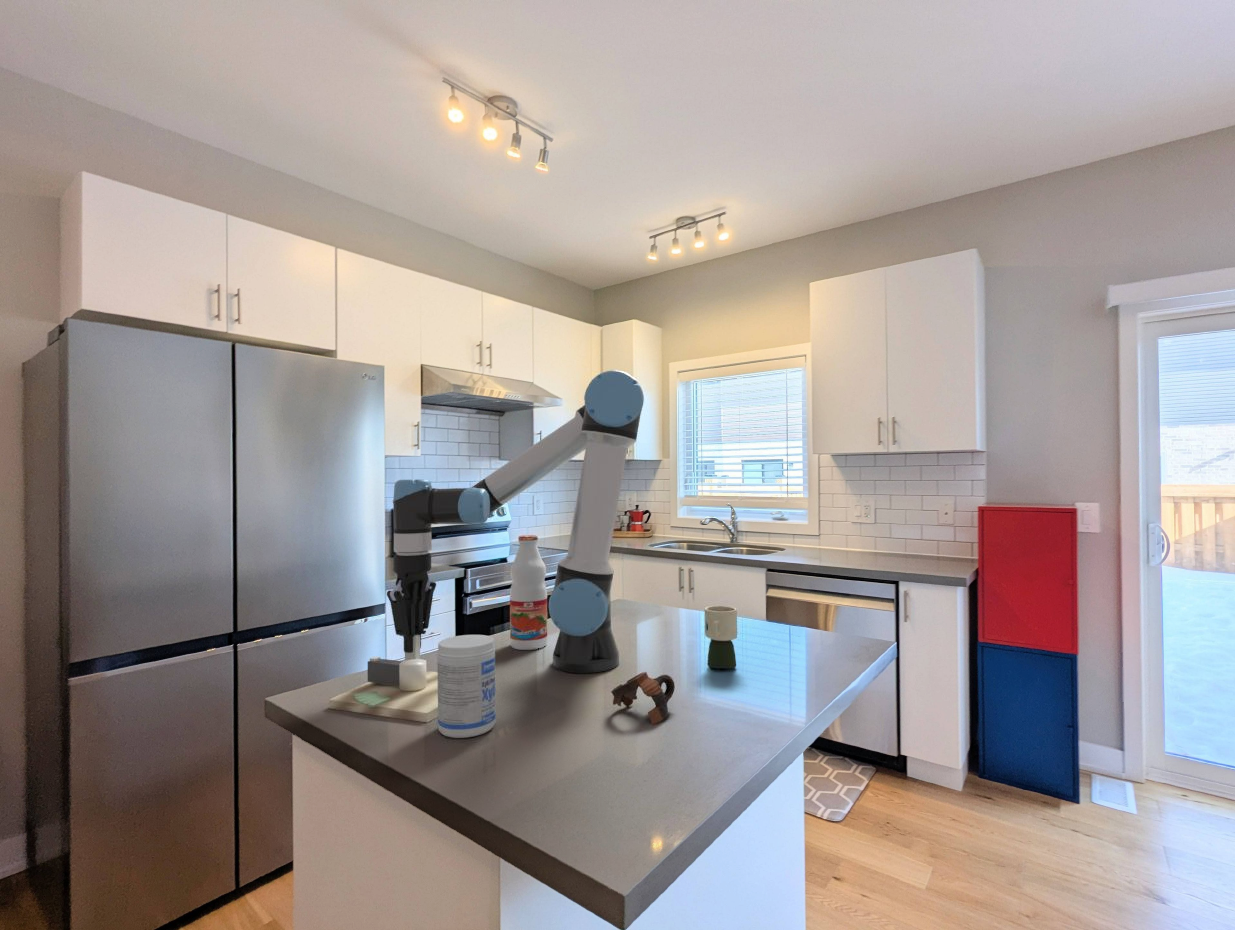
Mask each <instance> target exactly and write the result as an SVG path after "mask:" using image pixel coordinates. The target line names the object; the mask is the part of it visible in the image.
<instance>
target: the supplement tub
mask: <svg viewBox="0 0 1235 930" xmlns="http://www.w3.org/2000/svg"><path fill="white" fill-rule="evenodd" d="M495 648H496V646H495V639H494V638H493V637H492V636H490V635H486V634H485V635H484V634H463V635H456V636H451V637H447V638H444V639H441V640H440V641H439V642H438V646H437V651H436V652H437V653H436V654H437V655H436V657H437V661H436V662H437V663H436V664H437V672H438V717H437V729H438V730H439V733H441V734H442V735H444V736H445V737H447V738H448V737H449V738H452V739H454V738H455V739H465V738H467V739H468V738H472V737H473V738H474V737H477V736H480V735H483V734H486V733H487V732H489V731H490V730H492V729H493V727H494V726H495V725H496V720H497V719H496V717H497V715H496V714H497V713H496V711H497V710H496V707H497V706H496V649H495Z"/></svg>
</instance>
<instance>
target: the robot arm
mask: <svg viewBox="0 0 1235 930" xmlns="http://www.w3.org/2000/svg"><path fill="white" fill-rule="evenodd" d="M583 398H584V405H582V406H581V407H579V408H578V409H577V410H576V411H575V415H574V416H573V418H572V419H570V420H568V421H566V423H564V424H563V425H561V426H560V427H558V428H557V429H555V430H554V431H552V432H551V433H550V434H547V435H546V436H545V437H543V438H542V439H540V440H539V441H538V442H536V443H535V444H533V445H531V446H529V447H528V448H527V449H525V451H523V452H521V453H520V454H518V455H517V456H516V457H514V458H513V459H511V460H510V461H508V462H507V463H505V464H504V465H502V466H501V467H499V468H497V469H496V470H495V471H493V472H492V473H490V474H489V475H487V476H486V477H485V478H483V479H482V480H480V481H479V482H477V483H475V484H474V485H473V486H471V487H457V488H456V487H455V488H453V487H452V488H434V487H433V485H432V481H431V480H430V479H424V478H423V479H422V478H421V479H419V478H418V479H398V480H397V481H396V482H395V483H394V487H393V489H394V490H393V500H392V504H393V507H392V508H393V552H394V553H396V554H394V556H393V558H392V559H393V572H394V573H395V574H396V576H397V577H396V579H395V587H394V588H393V589H391V590H387V591H386V597H387V598H388V600H389V603H390V608H391V613H392V618H393V619H392V621H393V624H394V630H395V635H397V636H400V637H403V653H404V661H406V660H412V659H421V649H422V635H425V634H426V633H427V629H428V628H429V625H430V618H431V613H432V612H431V611H432V605H433V596H434V592H435V589H436V587H437V583H436V582H434V581H431V580H429V575H428V572H430V571H431V570H432V554H431V553H430V552H431V550H432V525H468V526H472V525H479V524H484V523H486V522H487V521H488V518H489V517H491V516H492V515H493V514H494V512H495V511H496V510H498V509H500V508H501V507H503V505H505V504H506V503H508V502H510V501H511V500H512V499H514V498H516V497H517V496H518V495H520V494H522V493H523V492H525V491H526V490H528V489H529V488H531V487H532V486H533V485H535V484H536V483H538V482H540V481H541V480H542V479H544V478H545V477H547V476H548V475H550V474H551V473H553V472H554V471H555V470H557V469H559V468H560V467H561V466H563V465H564V464H566V463H568V462H569V461H570V460H572V459H574V458H575V457H577V456H578V455H580V454H581V453H583V452H584V457H583V462H582V467H581V468H582V469H581V473H580V479H579V484H578V485H579V486H578V491H577V497H576V503H575V509H574V513H573V514H574V515H573V521H572V526H571V531H570V536H569V537H570V538H569V543H568V549H567V554H566V556H565V557H562V559H561V560H559V561H558V563H557V570H556V575H555V581H554V586H553V590H552V591H551V594H550V596H549V597H548V598H549V599H548V611H549V616H550V619H551V621H552V622H553V624H554V625H555V627H556V628H557V629H559V632H558V633H559V634H558V637H557V640H556V643H555V647H554V650H553V653H552V666H553V667H554V669H556V670H559V671H563V672H566V673H573V674H593V673H600V672H605V671H608V670H611V669H614V668H616V667H617V666H618V665H619V664H620V654H619V653H620V651H619V649H618V647H617V643H616V640H615V637H614V633H613V629H612V612H611V611H612V609H611V608H612V606H611V605H612V604H611V603H612V602H611V600H612V599H611V590H612V585H613V578H614V577H613V576H614V570H613V568H612V567H611V565H610V564H609V558H610V552H611V546H612V541H613V536H614V529H615V524H616V523H615V522H616V518H617V511H618V505H619V501H620V494H621V488H622V484H623V482H622V481H623V477H624V472H625V471H624V470H625V465H626V459H627V454H628V453H627V452H628V449H629V448H630V447H631V446H632V445H634V444H635V443H636V442H637V439H638V438H637V437H638V432H639V427H640V420H641V415H642V410H643V407H644V402H645V398H644V392H643V389H642V387H641V385H640V383H639V382H638V381H637V380H636V379H635V377H633V376H631V375H630V374H629V373H628V372H625V371H621V370H616V369H615V370H614V369H612V370H611V369H610V370H606V371H603V372H601V373H599V374H598V375H596V376H594V377H593V379H591V381H590V382H589V384H588V386H587V387H586V389H585V392H584V396H583Z"/></svg>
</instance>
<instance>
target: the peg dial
mask: <svg viewBox="0 0 1235 930" xmlns="http://www.w3.org/2000/svg"><path fill="white" fill-rule="evenodd" d="M426 671H427V660H425V659H421V658H420V659H412V660H406V661H405V660H404V661H403V660H398V659H397V660H396V659H395V660H392V659H386V658H385V659H384V658H381V657H380V656H372V657H369V660H368V661H367V683H368V682H372V683H380V684H388V685H396V686H399V689H400V690H403V691H415V690H419V689H422V688H424V687H426Z"/></svg>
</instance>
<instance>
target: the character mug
mask: <svg viewBox="0 0 1235 930" xmlns="http://www.w3.org/2000/svg"><path fill="white" fill-rule="evenodd" d="M704 635H705V637H706V638H708V639H710V641H709V646H708V653H707V667H709V668H712V669H719V670H720V671H721V670H722V669H733V668H736V667H737V657H736V652H735V646H734V641H733V640H735V639H737V638H738V609H737V608H736V607H733V606H727V605H710V606H706V607H705V608H704Z"/></svg>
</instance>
